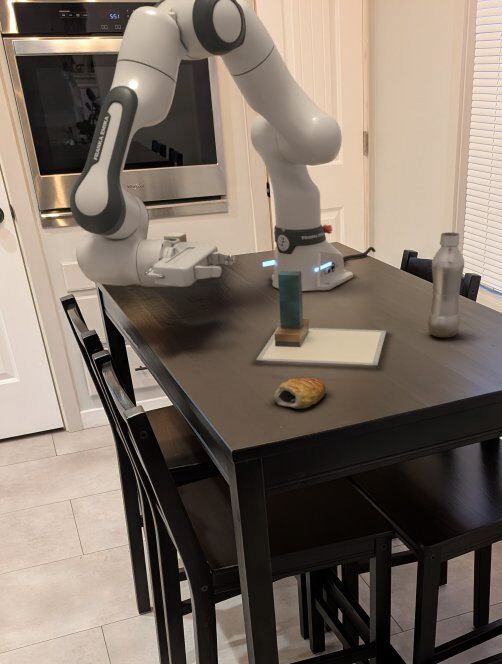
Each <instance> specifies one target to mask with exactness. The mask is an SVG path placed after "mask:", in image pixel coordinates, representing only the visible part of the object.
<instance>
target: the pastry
mask: <svg viewBox="0 0 502 664" xmlns="http://www.w3.org/2000/svg"><path fill="white" fill-rule="evenodd" d="M326 389H327V387H326V383H325V382H324V381H321V380H319V379H317V378H315V377H300V378H290V379H287V381H284V382H281V384H280V385H279V386H278V388H277V389H276V391H275V393H274V394H273V399H274V401H275V402H276V404H277V405H278V406H281V407H285V408H292V409H296V410H297V409H298V410H299V409H303V410H304V409H307V408H310V407H311V406H312V405H316V404H318V402H319V401H320V400H322V398H324V396H325V393H326Z"/></svg>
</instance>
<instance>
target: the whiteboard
mask: <svg viewBox="0 0 502 664" xmlns="http://www.w3.org/2000/svg"><path fill="white" fill-rule="evenodd" d="M279 327H280V326H277V327H276V329H275V330H274V332H273V334H272V335H271V337H270V338H269V339H268V341H267V343H266V344H265V346H264V347H263V348H262V350H261V351H260V352H259V355H258V356H257V357H256V358H255V361H263V362H264V361H265V362H284V363H285V362H286V363H287V362H289V363H307V364H308V363H311V364H333V365H334V364H335V365H336V364H337V365H354V366H355V365H358V366H378V364H379V360H380V356H381V353H382V349H383V345H384V341H385V338H386V334H387V330H385V329H384V330H380V329H378V330H377V329H353V328H352V329H351V328H327V327H326V328H325V327H309V331H308V333H307V335H306V337H305V339H304V341H303V342H302V344H301V346H300V347H286V346H275V333H276V331H277V330H278V328H279Z"/></svg>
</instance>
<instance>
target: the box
mask: <svg viewBox="0 0 502 664" xmlns="http://www.w3.org/2000/svg"><path fill="white" fill-rule="evenodd" d="M171 238H177V239H179V240H180V242H188V239H187V233H186V232H174V231H173V232H170V233H167V234H165V235H163V240H166V239H171Z"/></svg>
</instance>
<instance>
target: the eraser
mask: <svg viewBox="0 0 502 664" xmlns="http://www.w3.org/2000/svg"><path fill="white" fill-rule="evenodd" d="M278 285H279V289H278V300H279V302H278V303H279V320H280V321H279V322H280V325H279V326H278V327H279V328H278V327H277V328H278V330H277V331H276V330H275V331H276V333H275V346H286V347H300V346H301V344H302V342H303V341H304V339H305V337H306V335H307V333H308V331H309V328H310V325H309V322H310V321H309V318H304V313H303V312H304V311H303V291H302V279H301V271H281V272H280V273H279V274H278Z"/></svg>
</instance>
